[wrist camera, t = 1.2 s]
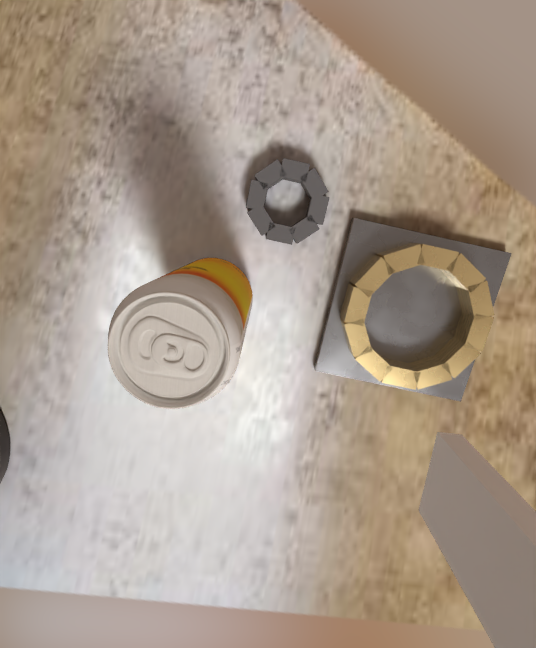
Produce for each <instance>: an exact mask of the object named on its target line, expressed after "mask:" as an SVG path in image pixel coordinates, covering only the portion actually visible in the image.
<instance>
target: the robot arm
mask: <svg viewBox="0 0 536 648" xmlns="http://www.w3.org/2000/svg"><path fill="white" fill-rule="evenodd" d="M9 456H10V441H9V434H8V430H7V426H6V423H5V420H4V418H3V415H2V413H1V411H0V483H1V481H2V479H3V477H4V475H5V472H6V470H7V466H8V462H9ZM419 512H420V514H421V516H422V517H423V519H424V521H425V523H426V525H427V526H428V528H429V530H430V532H431V534H432V535H433V537H434V539H435V541H436V543H437V544H438V546H439V548H440V550H441V552H442V553H443V555H444V557H445V559H446V561H447V562H448V564H449V566H450V568H451V570H452V571H453V573H454V575H455V577H456V579H457V580H458V582H459V584H460V586H461V588H462V589H463V591H464V593H465V595H466V597H467V598H468V600H469V602H470V604H471V606H472V607H473V609H474V611H475V613H476V615H477V616H478V618H479V620H480V622H481V624H482V625H483V627H484V629H485V631H486V633H487V634H488V636H489V638H490V640H491V642H492V643H493V645H494V647H495V648H536V511H535V510H534V509H533V508H532V507H531V506H530V505H529V504H528V503H527V502H526V501H525V500H524V499H523V498H522V497H521V496H520V495H519V494H518V493H517V492H516V491H515V490H514V488H513V487H512V486H511V485H510V484H509V483H508V482H507V481H506V480H505V479H504V478H503V477H502V476H501V475H500V474H499V473H498V472H497V471H496V470H495V469H494V468H493V467H492V466H491V465H490V464H489V462H488V461H487V460H486V459H485V458H484V457H483V456H482V455H481V454H480V453H479V452H478V451H477V450H476V449H475V448H474V447H473V446H472V445H471V444H470V443H469V442H468V441H467V440H466V439H465V438H464V437H463V435H459V434H451V433H442V432H437V436H436V440H435V444H434V449H433V453H432V457H431V461H430V465H429V469H428V473H427V478H426V482H425V486H424V490H423V494H422V498H421V503H420V507H419Z"/></svg>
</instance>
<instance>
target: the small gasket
mask: <svg viewBox="0 0 536 648" xmlns="http://www.w3.org/2000/svg"><path fill="white" fill-rule="evenodd" d="M309 166H310V164H307V163H302V162H298V161H294V160H289V159H285V158H283V161H282V166H281V164H280V162H279V161H278V159H277V160H276V161H274V162H273V163H271V164H270V165H268V166H267V167H265V168H264V169H262V170H261V171H260V172H258V173H257V174H255V177H256V179H257V181H255V180H251V185H250V190H249V195H248V200H247V205H246V208H249V209H252V210H251V211H249V212H248V215H249V217H250V218H251V220H252V221H253V223H254V224H255V226H256V228H257V229H258V231H259V232H260V234H261V236H262V235H264V234H265V233H267V237H266V239H269V240H273V241H278V242H282V243H287V244H291V245H292V242H293V239H294V241H295V242H296V243H299V242H300V241H302V240H304V239H305V238H307V237H308V236H310V235H311V234H313V233H314V232H316V231H317V230H319V227H318V225H317V224H320V225H322V224H323V222H324V218H325V214H326V209H327V205H328V201H329V197H326V196H323V195H324V194H326V193H327V192H329V191H328V190H327V188H326V186H325V185H324V183H323V181H322V180H321V178H320V176H319V174H318V173H317V171H316V169H315V168H313V169H312V170H310V171H309ZM308 171H309V172H308ZM282 179H284V180H288V181H293V182H297V183H301V185H302V187H303V188H304V190H305V192H306V193H307V195H308V197H309V198H310V201H309V205H308V210H307V214H306V217H305V218H304V219H302V220H301V221H299V222H298V223H296V224H295V225H293V226H292V227H289V226H285V225H280V224H276V223H273V221H272V220H271V218H270V217H269V215H268V213H267V212H266V210H265V208H264V204H265V200H266V195H267V190H268V189H269V188H271V187H272V186H274V185H275V184H277V183H278V182H279V181H281V180H282Z"/></svg>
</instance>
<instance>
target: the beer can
mask: <svg viewBox="0 0 536 648" xmlns="http://www.w3.org/2000/svg"><path fill="white" fill-rule="evenodd" d="M251 307H252V290H251V286H250V284H249V281H248V279H247V278H246V276H245V275H244V273H243V272H242V271H241V270H240V269H239V268H238V267H236V266H235V265H234V264H232V263H230V262H228V261H226V260H223V259H218V258H204V259H200V260H197V261H195V262H192V263H190V264H188V265H186V266H184V267H182V268H179V269H177V270H175V271H173V272H171V273H169V274H166V275H164V276H162V277H160V278H158V279H155V280H153V281H151V282H149V283H147V284H145V285H142V286H140V287H139V288H137V289H135V290H134V291H133V292H131V293H130V294H129V295H128V296H127V297H126V298H125V299H124V300H123V301H122V302H121V303H120V305H119V306H118V308H117V309H116V311H115V313H114V315H113V317H112V320H111V323H110V327H109V333H108V356H109V361H110V364H111V367H112V370H113V372H114V374H115V376H116V378H117V379H118V381H119V382H120V383H121V385H122V386H123V387H124V388H125V389H126V390H127V391H128V392H129V393H130V394H131V395H133V396H134V397H136V398H137V399H139V400H140V401H142V402H144V403H146V404H149V405H152V406H155V407H159V408H166V409H179V408H185V407H189V406H192V405H195V404H199V403H201V402H204V401H206V400H208V399H210V398H212V397H213V396H215V395H216V394H218V393H219V392H220V391H221V390H222V389H223V388H224V387H225V386H226V385H227V384H228V383H229V381H230V380H231V378H232V377H233V375H234V373H235V371H236V368H237V366H238V363H239V358H240V354H241V350H242V345H243V341H244V337H245V333H246V328H247V324H248V320H249V316H250V311H251Z"/></svg>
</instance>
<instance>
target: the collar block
mask: <svg viewBox="0 0 536 648" xmlns="http://www.w3.org/2000/svg"><path fill="white" fill-rule="evenodd" d="M510 256H511V253H508V252H503V251H499V250H494V249H490V248H485V247H481V246H476V245H472V244H468V243H463V242H459V241H454V240H450V239H445V238H441V237H437V236H432V235H428V234H423V233H419V232H414V231H410V230H405V229H401V228H397V227H392V226H388V225H383V224H379V223H374V222H370V221H366V220H361V219H357V218H352V221H351V225H350V229H349V233H348V237H347V241H346V245H345V248H344V252H343V256H342V260H341V264H340V268H339V272H338V276H337V280H336V284H335V288H334V292H333V296H332V300H331V304H330V308H329V311H328V315H327V319H326V323H325V327H324V331H323V335H322V339H321V343H320V347H319V351H318V355H317V359H316V363H315V367H314V369H315V371H318V372H323V373H327V374H332V375H337V376H342V377H347V378H351V379H356V380H361V381H366V382H371V383H375V384H380V385H385V386H390V387H394V388H399V389H404V390H409V391H414V392H418V393H423V394H428V395H433V396H438V397H442V398H447V399H452V400H457V401H461V399H462V396H463V393H464V390H465V387H466V384H467V382H468V379H469V376H470V373H471V370H472V367H473V364H474V361H475V359H476V358H477V357H478V356H479V355H480V354H481V353H480V352H479V351H483V348H484V345H485V343H486V340H487V337H488V334H489V331H490V328H491V325H492V322H493V319H494V317H492V316H493V315H494V311H493V306H494V303H495V300H496V297H497V294H498V291H499V288H500V285H501V283H502V280H503V277H504V274H505V271H506V268H507V265H508V262H509V259H510Z"/></svg>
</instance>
